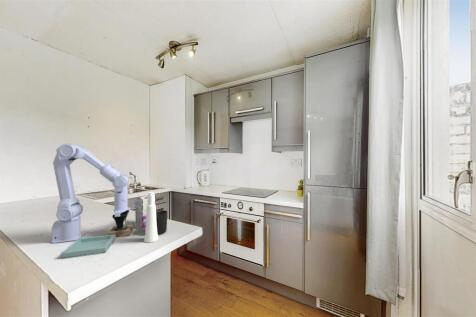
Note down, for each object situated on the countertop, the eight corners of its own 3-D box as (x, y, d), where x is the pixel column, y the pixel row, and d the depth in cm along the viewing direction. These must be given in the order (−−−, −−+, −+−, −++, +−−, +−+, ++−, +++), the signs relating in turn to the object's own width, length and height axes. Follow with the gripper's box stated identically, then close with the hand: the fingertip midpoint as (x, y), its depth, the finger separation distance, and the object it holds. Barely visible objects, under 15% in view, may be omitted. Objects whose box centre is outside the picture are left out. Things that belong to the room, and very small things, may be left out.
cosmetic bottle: (143, 243, 83) (143, 193, 83) (144, 238, 89) (144, 191, 89) (158, 241, 86) (158, 192, 86) (158, 236, 91) (158, 190, 91)
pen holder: (160, 236, 91) (160, 215, 91) (143, 235, 93) (142, 214, 93) (170, 229, 100) (170, 210, 100) (155, 228, 102) (155, 209, 102)
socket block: (107, 238, 89) (107, 233, 89) (113, 231, 98) (113, 226, 98) (129, 235, 92) (129, 230, 92) (133, 229, 100) (133, 224, 100)
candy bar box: (148, 221, 113) (148, 194, 112) (156, 222, 112) (155, 194, 111) (134, 228, 102) (134, 197, 101) (142, 229, 101) (142, 198, 100)
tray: (61, 258, 71) (61, 253, 71) (79, 242, 84) (79, 238, 84) (105, 252, 76) (105, 247, 76) (115, 238, 89) (115, 234, 89)
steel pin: (115, 235, 92) (115, 220, 92) (117, 232, 96) (117, 217, 96) (124, 234, 94) (124, 219, 94) (126, 231, 97) (126, 216, 97)
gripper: (126, 202, 89) (127, 231, 89) (133, 196, 103) (133, 221, 103) (109, 203, 87) (109, 233, 87) (118, 197, 101) (118, 223, 101)
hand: (121, 227), depth 95 cm, fingers closed on steel pin, 4 cm apart
